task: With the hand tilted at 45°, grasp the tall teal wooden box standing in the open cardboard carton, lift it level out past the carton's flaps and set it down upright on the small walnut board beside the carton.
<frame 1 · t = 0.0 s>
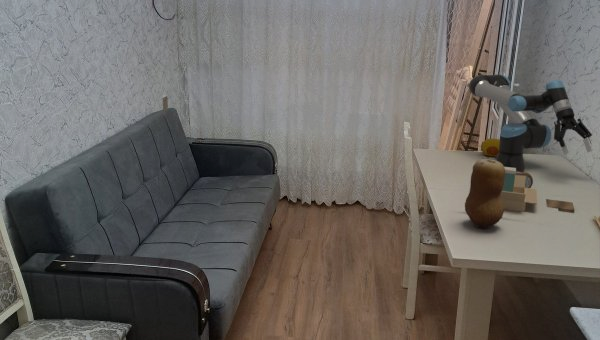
hand: (578, 152, 240), 15 cm above the table, tool tilted 35°, fingers open, 13 cm apart
butternut squash: (481, 226, 192), on the table
tin: (513, 189, 235), on the table
lantern: (493, 156, 292), on the table
teal box: (505, 201, 216), point 1 cm above the table, touching carton
carton: (504, 203, 216), on the table
walnut board: (559, 207, 212), on the table
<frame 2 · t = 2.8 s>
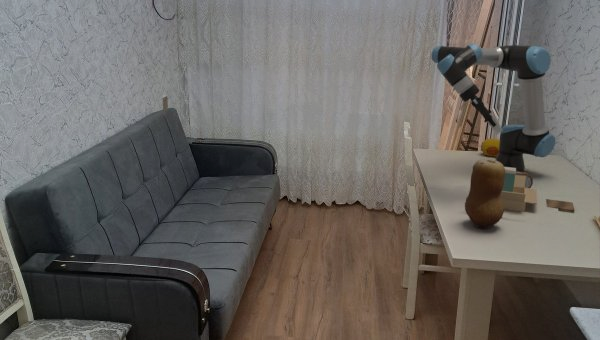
hand: (498, 130, 210), 30 cm above the table, tool tilted 40°, fingers open, 13 cm apart
nothing on the table moved.
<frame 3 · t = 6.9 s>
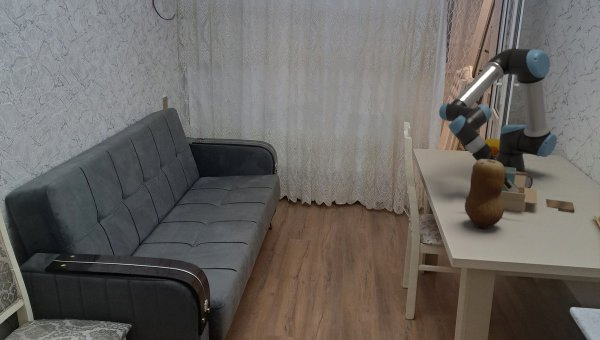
hand: (516, 191, 213), 6 cm above the table, tool tilted 45°, fingers closed on teal box, 5 cm apart
teal box: (504, 201, 216), point 1 cm above the table, touching carton, gripper
everything else where it was.
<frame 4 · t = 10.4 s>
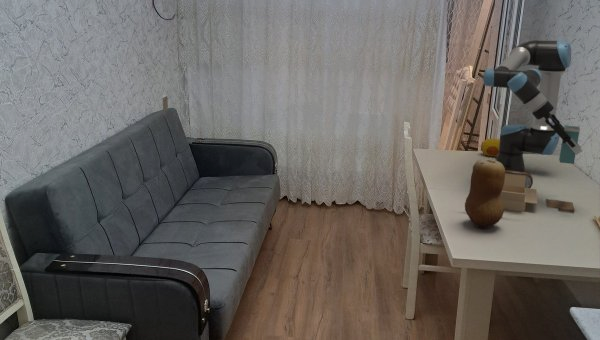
hand: (578, 151, 204), 24 cm above the table, tool tilted 45°, fingers closed on teal box, 5 cm apart
teal box: (566, 161, 207), point 19 cm above the table, touching gripper
everything else where it was.
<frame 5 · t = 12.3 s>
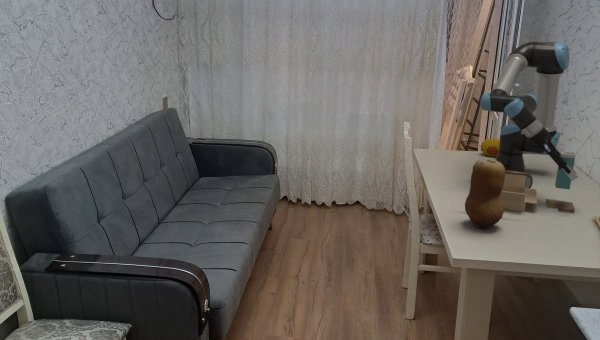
hand: (574, 176, 206), 14 cm above the table, tool tilted 45°, fingers closed on teal box, 5 cm apart
teal box: (562, 187, 209), point 9 cm above the table, touching gripper
everything else where it was.
when the fingers open (7 cm above the table, at t = 13.9 s): teal box drops 1 cm, resting on walnut board.
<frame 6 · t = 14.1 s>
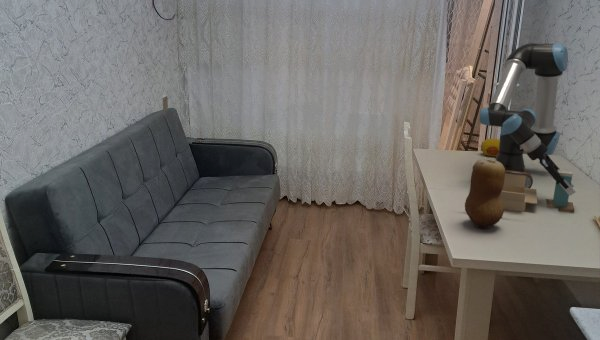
hand: (571, 190, 209), 8 cm above the table, tool tilted 45°, fingers open, 7 cm apart
teal box: (559, 204, 212), point 1 cm above the table, touching walnut board
everything else where it was.
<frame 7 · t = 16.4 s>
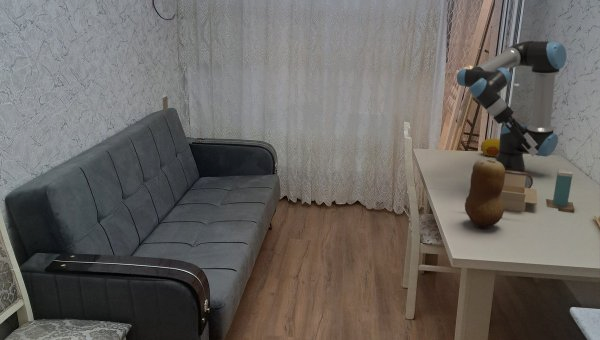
hand: (535, 150, 211), 23 cm above the table, tool tilted 45°, fingers open, 13 cm apart
nothing on the table moved.
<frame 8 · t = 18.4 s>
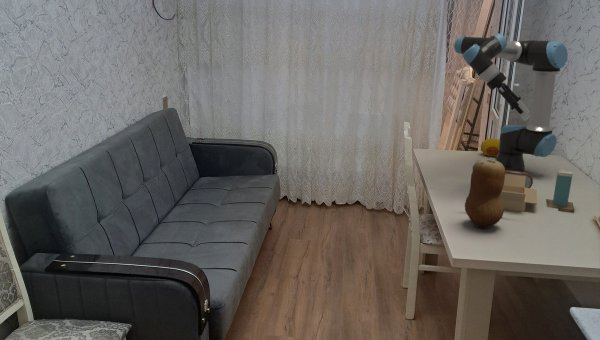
hand: (527, 116, 212), 36 cm above the table, tool tilted 45°, fingers open, 13 cm apart
nothing on the table moved.
at the end: teal box 0.1 cm from the walnut board (horizontally); teal box tilted 0°; teal box point 1.2 cm above the table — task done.
